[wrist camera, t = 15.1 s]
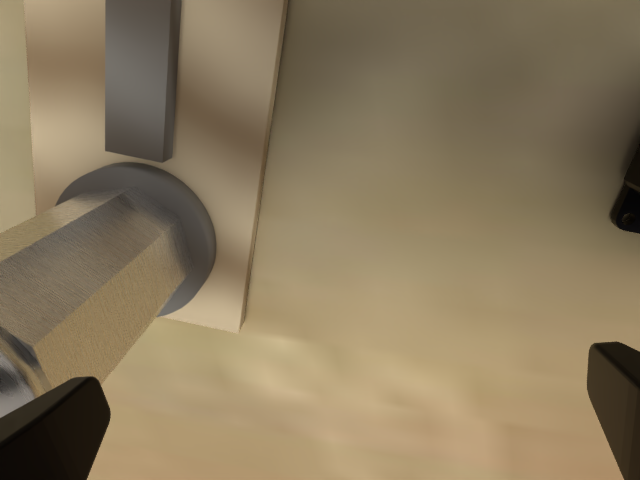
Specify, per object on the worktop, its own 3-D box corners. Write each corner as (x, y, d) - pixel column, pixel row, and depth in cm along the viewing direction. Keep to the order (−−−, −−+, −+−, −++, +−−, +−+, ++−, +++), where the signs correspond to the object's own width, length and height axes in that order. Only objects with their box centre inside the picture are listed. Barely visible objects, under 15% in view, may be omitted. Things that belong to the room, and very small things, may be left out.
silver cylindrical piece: (213, 240, 20) (74, 406, 10) (152, 326, 22) (-11, 530, 12) (100, 160, 19) (-159, 264, 10) (47, 257, 21) (-210, 420, 12)
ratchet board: (243, 322, 24) (212, 388, 19) (53, 281, 24) (-23, 336, 19) (311, -168, 16) (287, -257, 11) (30, -220, 16) (-105, -328, 12)
